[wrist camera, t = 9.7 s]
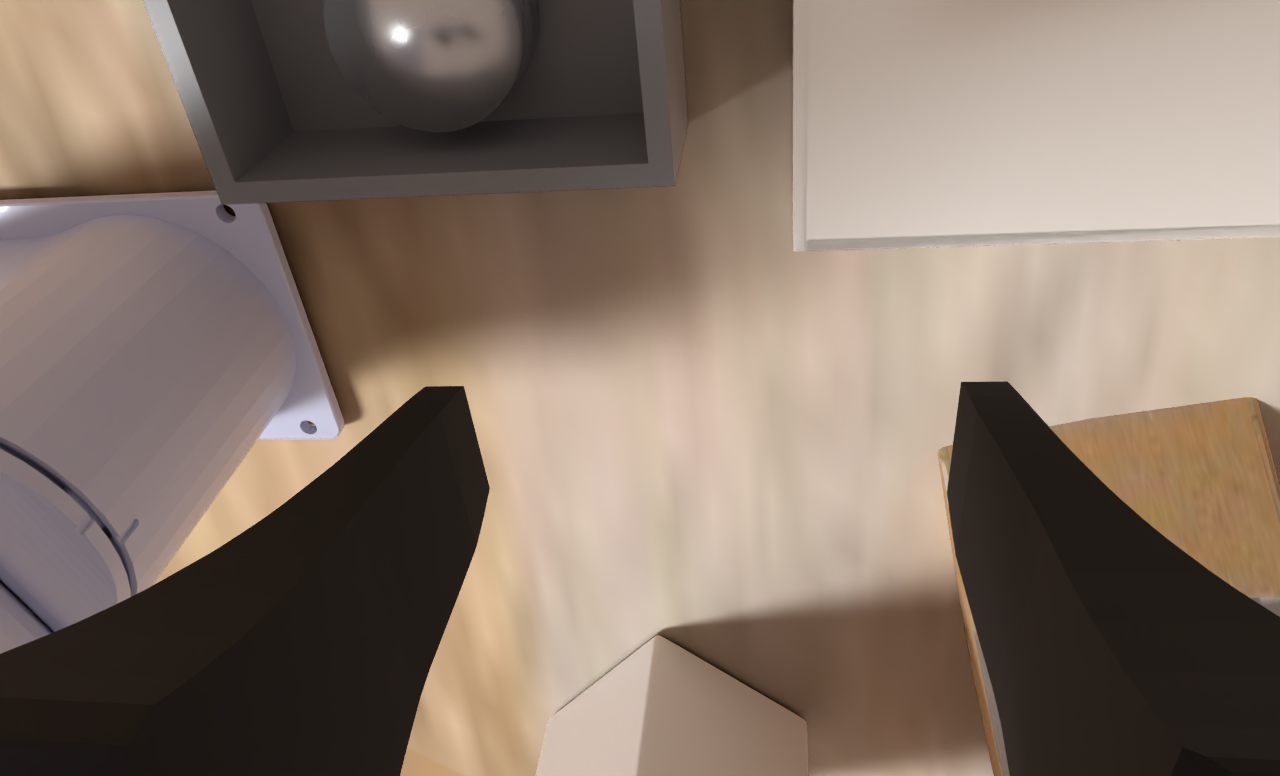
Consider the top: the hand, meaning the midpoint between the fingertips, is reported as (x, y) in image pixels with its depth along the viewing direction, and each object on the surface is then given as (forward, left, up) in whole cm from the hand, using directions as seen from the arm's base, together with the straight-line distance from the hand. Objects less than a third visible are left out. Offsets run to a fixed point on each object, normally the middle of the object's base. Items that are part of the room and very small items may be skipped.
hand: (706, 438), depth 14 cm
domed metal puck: (-6, +4, -10) cm, 12 cm away
